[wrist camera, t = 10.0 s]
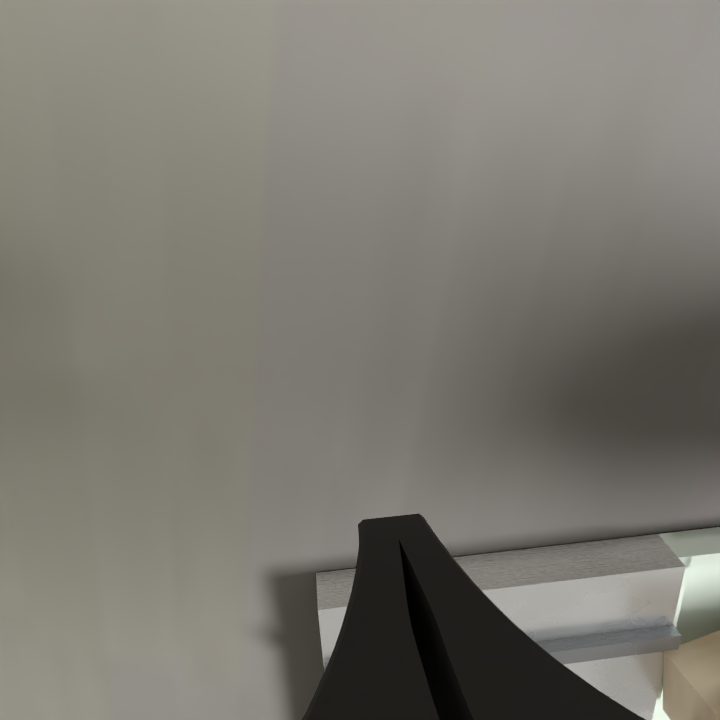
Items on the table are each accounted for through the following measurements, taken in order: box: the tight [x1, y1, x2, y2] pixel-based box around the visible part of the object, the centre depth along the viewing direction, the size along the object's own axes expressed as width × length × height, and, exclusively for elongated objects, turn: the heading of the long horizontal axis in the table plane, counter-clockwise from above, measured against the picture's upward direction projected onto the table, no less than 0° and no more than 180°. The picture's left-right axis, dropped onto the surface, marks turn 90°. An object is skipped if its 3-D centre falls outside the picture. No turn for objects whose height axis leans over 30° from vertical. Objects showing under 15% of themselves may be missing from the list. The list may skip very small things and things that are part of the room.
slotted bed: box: [316, 534, 686, 720], centre depth 27 cm, size 15×14×3 cm
